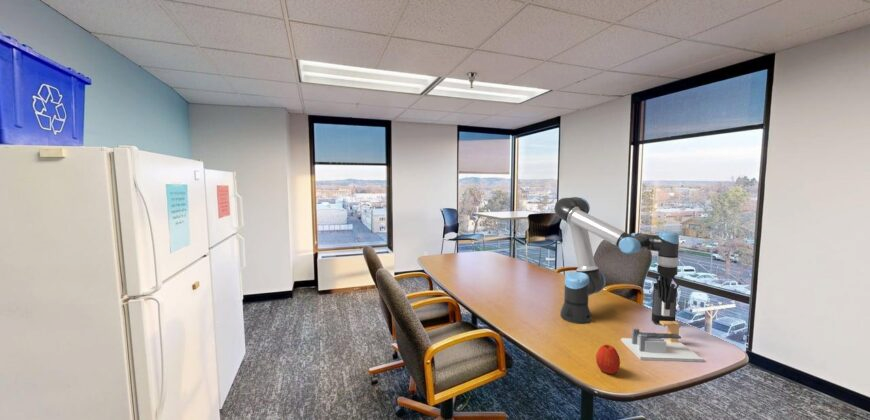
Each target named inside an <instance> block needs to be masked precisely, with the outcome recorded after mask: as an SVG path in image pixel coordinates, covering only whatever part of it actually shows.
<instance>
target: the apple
mask: <svg viewBox="0 0 870 420" xmlns="http://www.w3.org/2000/svg"><path fill="white" fill-rule="evenodd" d="M595 362H596V364H597V367H598V369H599V370H600V371H602V372H604V373H606V374H610V375H613V374H615V373H617V372H618V371H619V369H620V367H621V366H620V365H621V359H620V355H619V353H618V351H617V349H616V348H615V347H614V346H613V345H610V344H603V345H601V346H600V347H599V348H598V350H597V352H596V353H595Z"/></svg>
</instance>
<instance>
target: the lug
mask: <svg viewBox="0 0 870 420" xmlns="http://www.w3.org/2000/svg"><path fill="white" fill-rule="evenodd" d="M660 324H662V325H661V326H663V327H666V334H678V335H679V331H680V323H678V322H677V321H676V320H675V321H660ZM679 336H680V335H679ZM666 339H668V340H669V341H670V342H678V341H679V339H672V338H666Z"/></svg>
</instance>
